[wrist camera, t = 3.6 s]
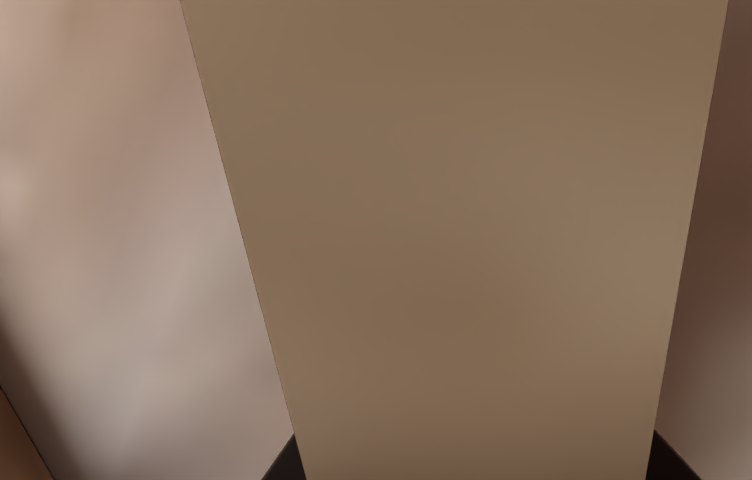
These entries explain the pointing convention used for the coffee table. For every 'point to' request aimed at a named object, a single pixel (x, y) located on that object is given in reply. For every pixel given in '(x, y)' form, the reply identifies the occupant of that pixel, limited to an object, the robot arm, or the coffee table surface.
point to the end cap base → (17, 449)
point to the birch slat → (464, 220)
